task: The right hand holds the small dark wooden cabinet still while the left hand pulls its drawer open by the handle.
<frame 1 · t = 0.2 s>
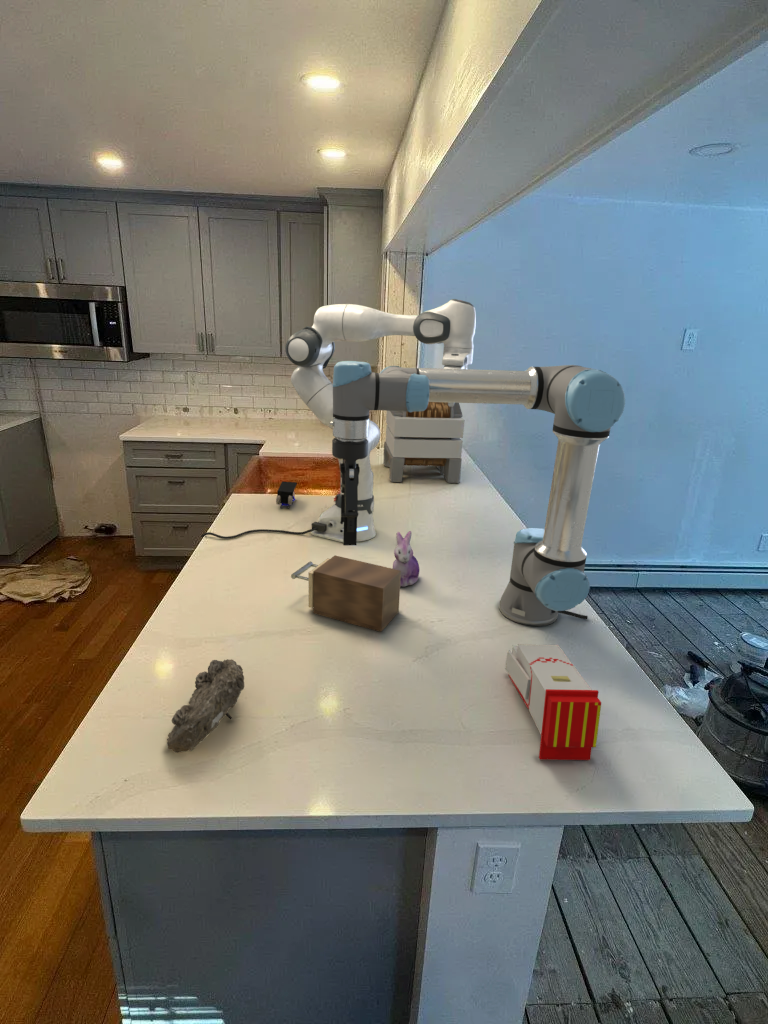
left hand: (453, 403, 174), 48 cm above the counter, tool pointing down, fingers open, 8 cm apart
right hand: (348, 532, 125), 28 cm above the counter, tool pointing down, fingers open, 13 cm apart
toy: (542, 710, 114), on the counter
figurine: (404, 580, 166), on the counter
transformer: (419, 473, 275), on the counter
cabinet: (356, 612, 147), on the counter
fossil: (212, 717, 108), on the counter
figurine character: (286, 504, 224), on the counter
drawer: (338, 587, 147), point 6 cm above the counter, slide at 0.6 cm
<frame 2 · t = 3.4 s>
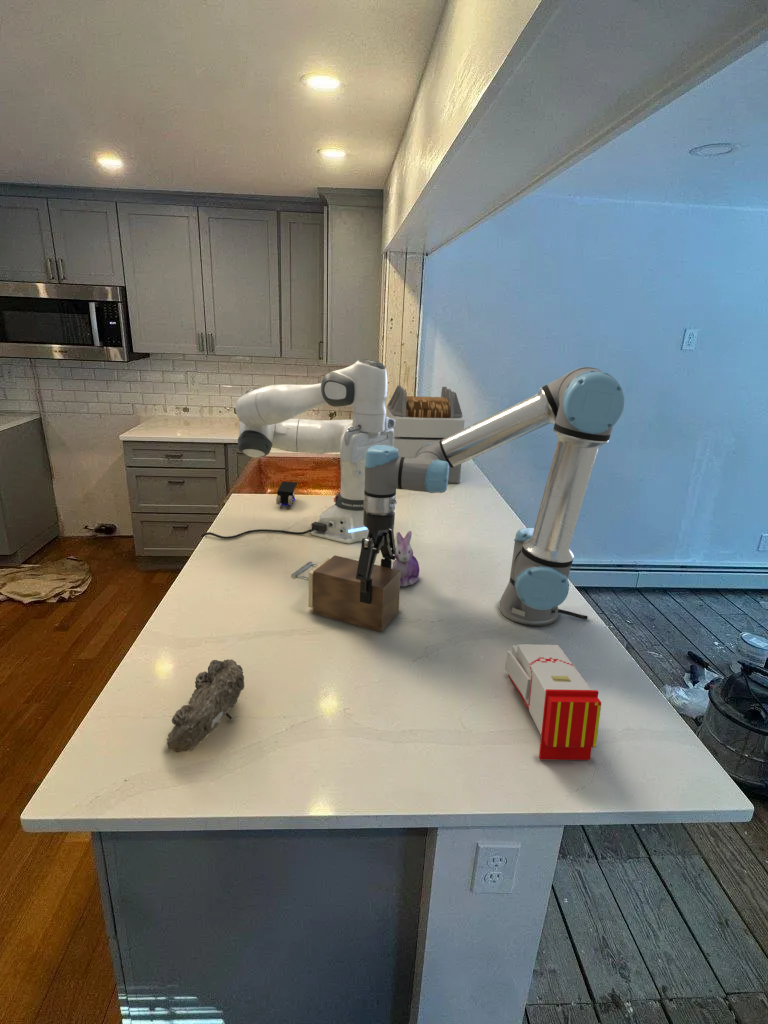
left hand: (366, 473, 155), 32 cm above the counter, tool pointing down, fingers open, 8 cm apart
right hand: (375, 592, 143), 7 cm above the counter, tool pointing down, fingers closed on cabinet, 11 cm apart
cabinet: (356, 612, 147), on the counter, touching right hand
everything else where it was.
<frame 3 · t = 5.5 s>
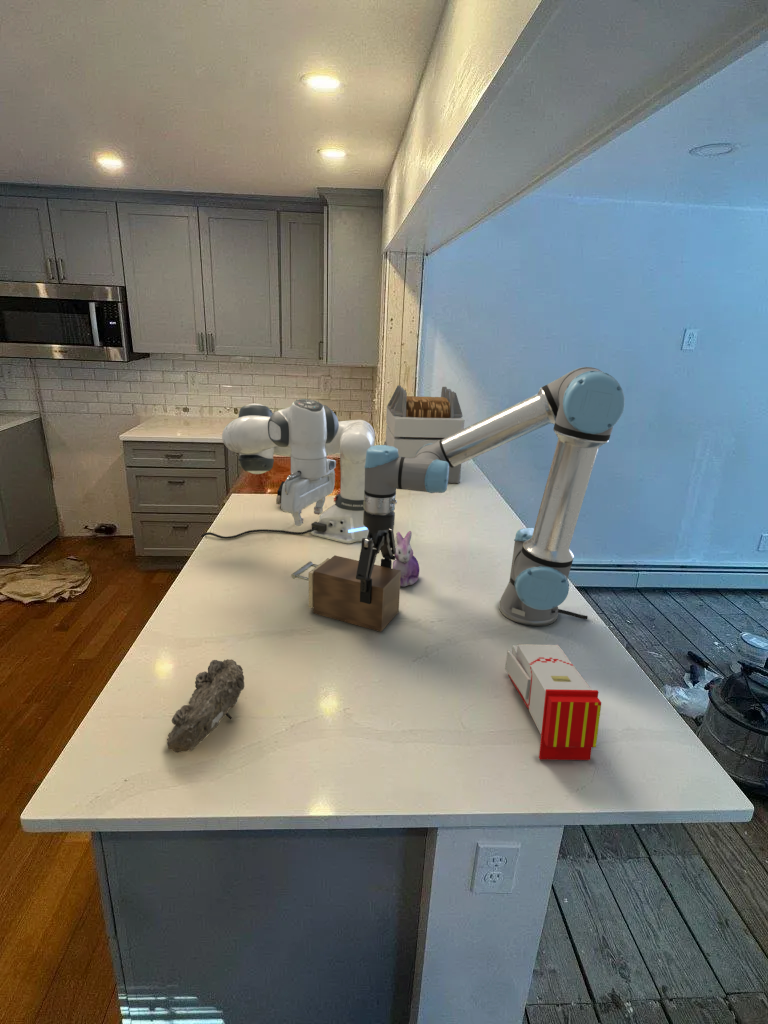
left hand: (308, 519, 145), 23 cm above the counter, tool pointing down, fingers open, 8 cm apart
right hand: (375, 592, 143), 7 cm above the counter, tool pointing down, fingers closed on cabinet, 11 cm apart
cabinet: (356, 612, 147), on the counter, touching right hand
everything else where it was.
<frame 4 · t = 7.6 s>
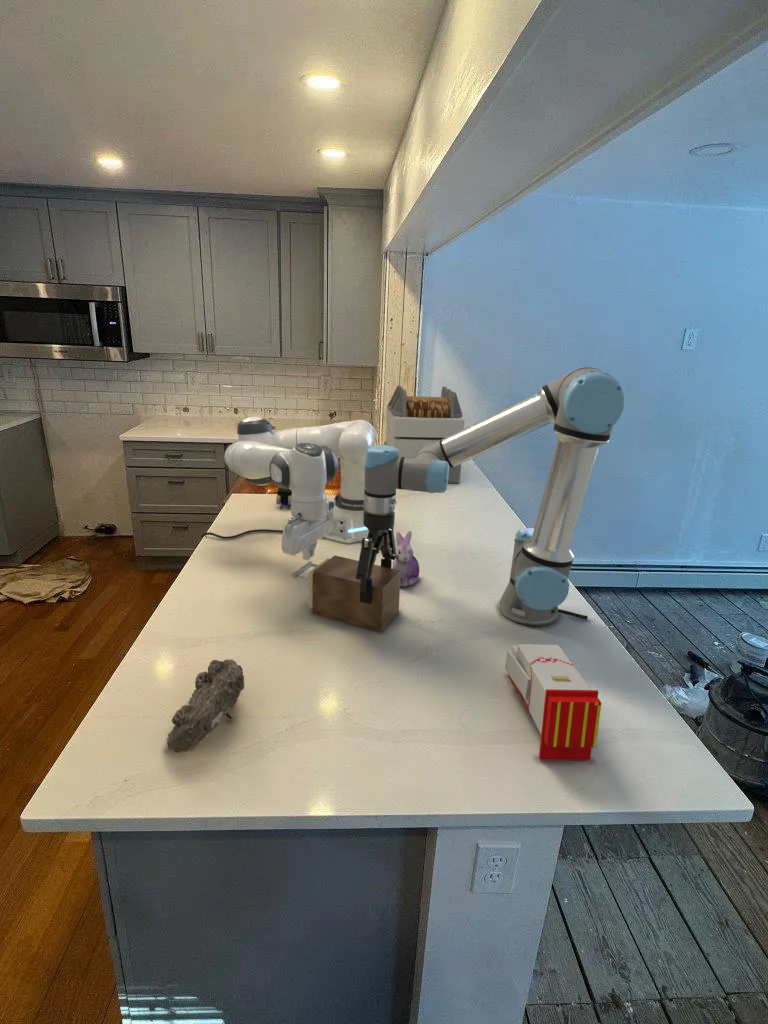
left hand: (308, 558, 148), 12 cm above the counter, tool pointing down, fingers closed
right hand: (375, 592, 143), 7 cm above the counter, tool pointing down, fingers closed on cabinet, 11 cm apart
cabinet: (356, 612, 147), on the counter, touching right hand
everything else where it was.
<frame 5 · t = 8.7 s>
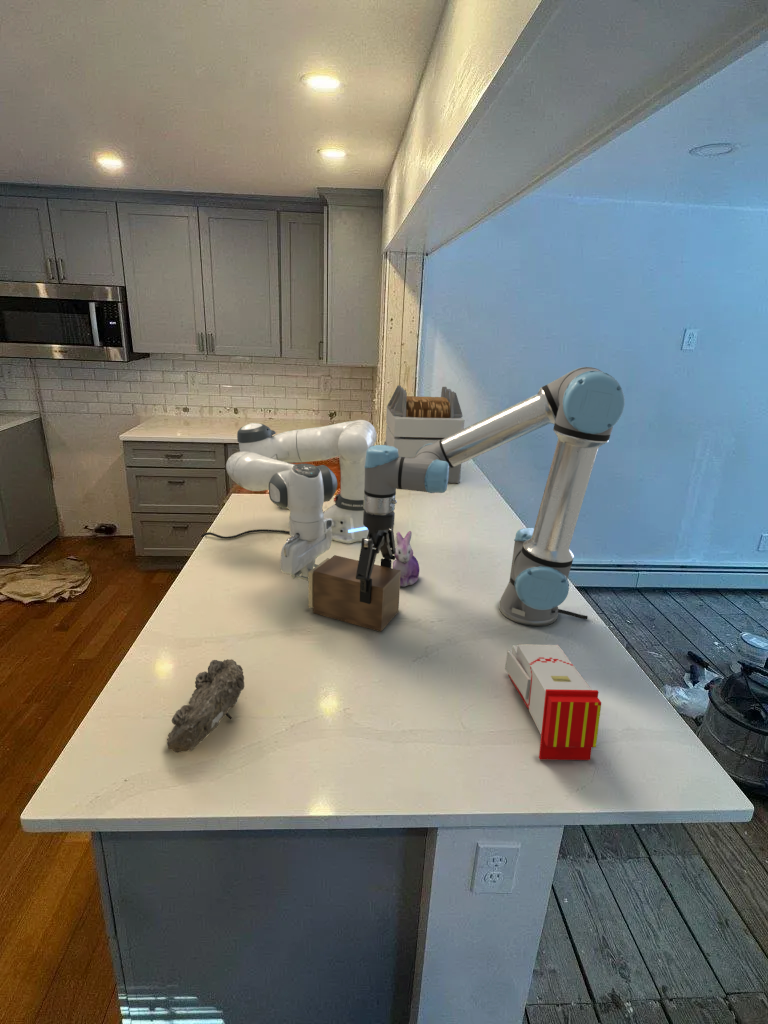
left hand: (307, 576, 150), 7 cm above the counter, tool pointing down, fingers closed, pressing on drawer
right hand: (375, 592, 143), 7 cm above the counter, tool pointing down, fingers closed on cabinet, 11 cm apart
cabinet: (356, 612, 147), on the counter, touching right hand
drawer: (338, 587, 147), point 6 cm above the counter, slide at 0.6 cm, touching left hand
everything else where it was.
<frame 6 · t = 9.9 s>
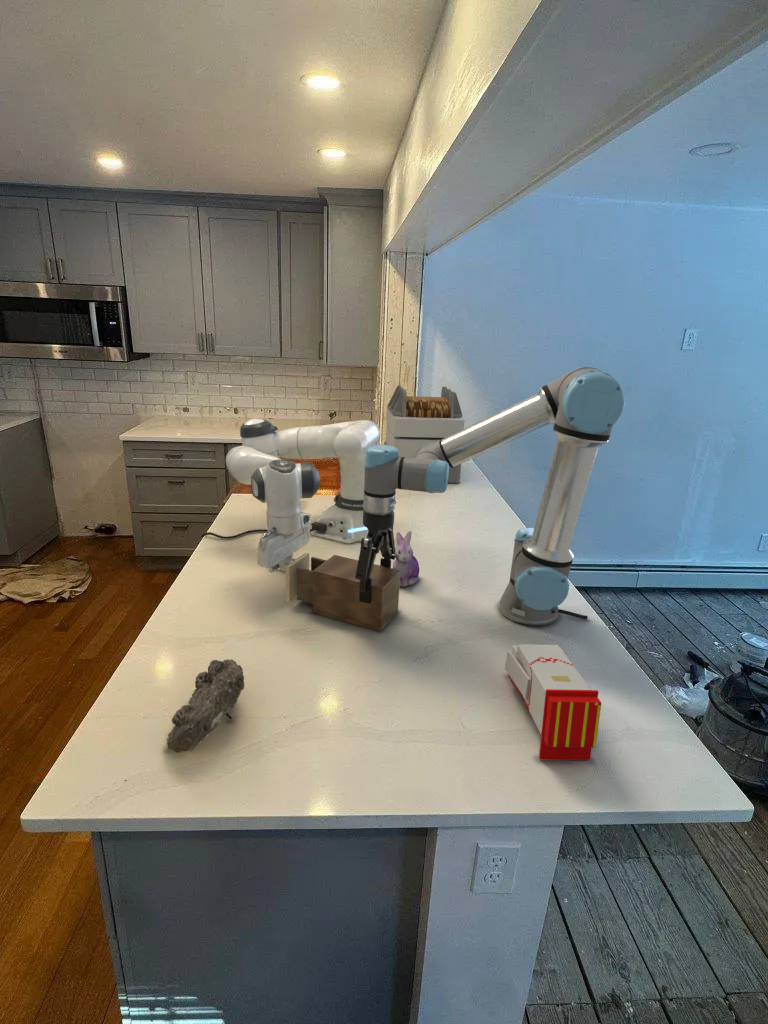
left hand: (285, 570, 153), 7 cm above the counter, tool pointing down, fingers closed, pressing on drawer
right hand: (375, 591, 143), 7 cm above the counter, tool pointing down, fingers closed on cabinet, 11 cm apart
cabinet: (355, 612, 147), on the counter, touching right hand
drawer: (315, 581, 150), point 6 cm above the counter, slide at 7.4 cm, touching left hand
everything else where it was.
when the right hand's fingers open (7 cm above the counter, at t = 11.9 s): cabinet stays where it is, on the counter.
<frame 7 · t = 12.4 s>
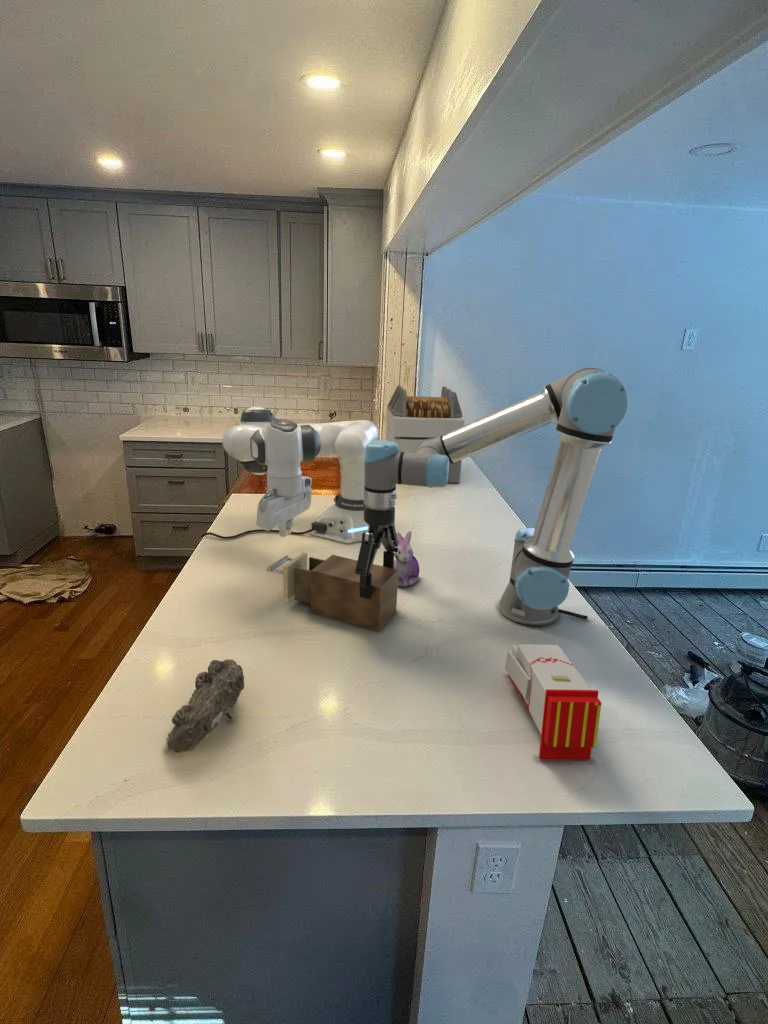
left hand: (285, 535, 149), 17 cm above the counter, tool pointing down, fingers closed
right hand: (377, 585, 142), 9 cm above the counter, tool pointing down, fingers open, 13 cm apart
cabinet: (354, 611, 148), on the counter
drawer: (313, 580, 150), point 6 cm above the counter, slide at 7.5 cm
everything else where it was.
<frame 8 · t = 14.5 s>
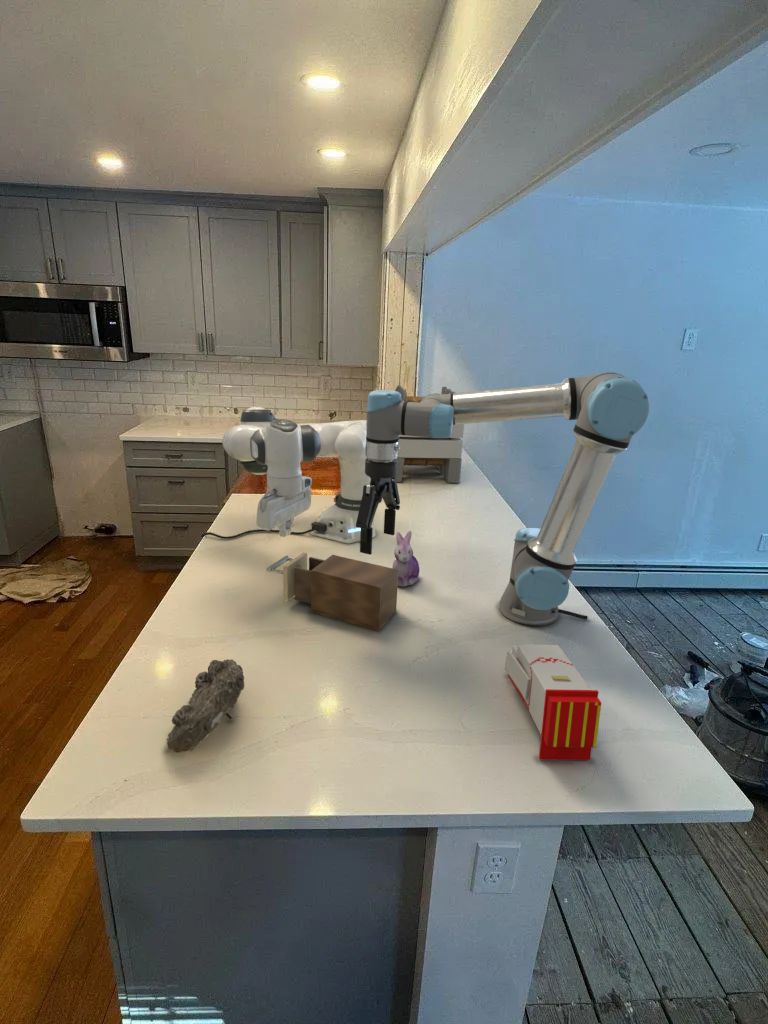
left hand: (285, 535, 149), 17 cm above the counter, tool pointing down, fingers closed
right hand: (377, 543, 138), 21 cm above the counter, tool pointing down, fingers open, 13 cm apart
nothing on the counter moved.
at the end: drawer slide at 7.5 cm; cabinet tilted 0°; cabinet never tilted more than 3° during the clip; cabinet moved 0.7 cm from its start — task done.
